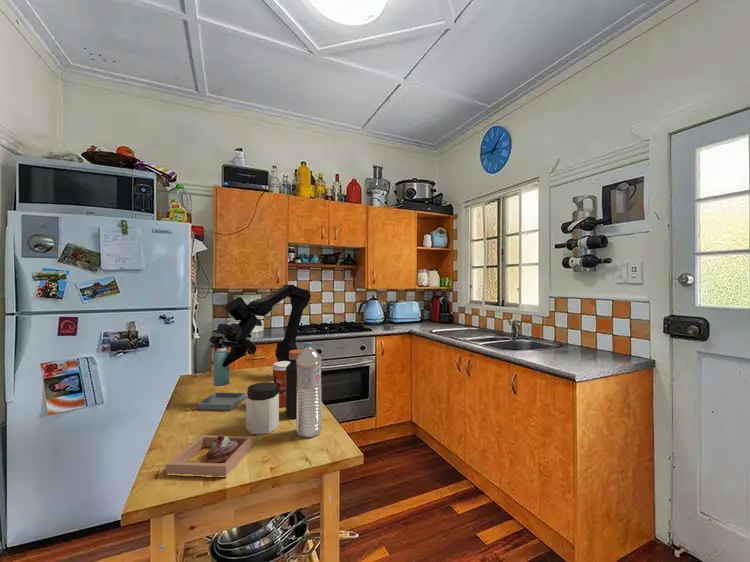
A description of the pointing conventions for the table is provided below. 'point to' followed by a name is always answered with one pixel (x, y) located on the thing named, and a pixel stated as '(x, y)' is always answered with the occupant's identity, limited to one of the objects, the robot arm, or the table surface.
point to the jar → (262, 408)
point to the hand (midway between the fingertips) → (217, 365)
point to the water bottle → (308, 392)
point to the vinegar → (291, 384)
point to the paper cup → (280, 380)
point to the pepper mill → (220, 368)
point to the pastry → (221, 449)
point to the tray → (221, 401)
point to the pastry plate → (215, 469)
